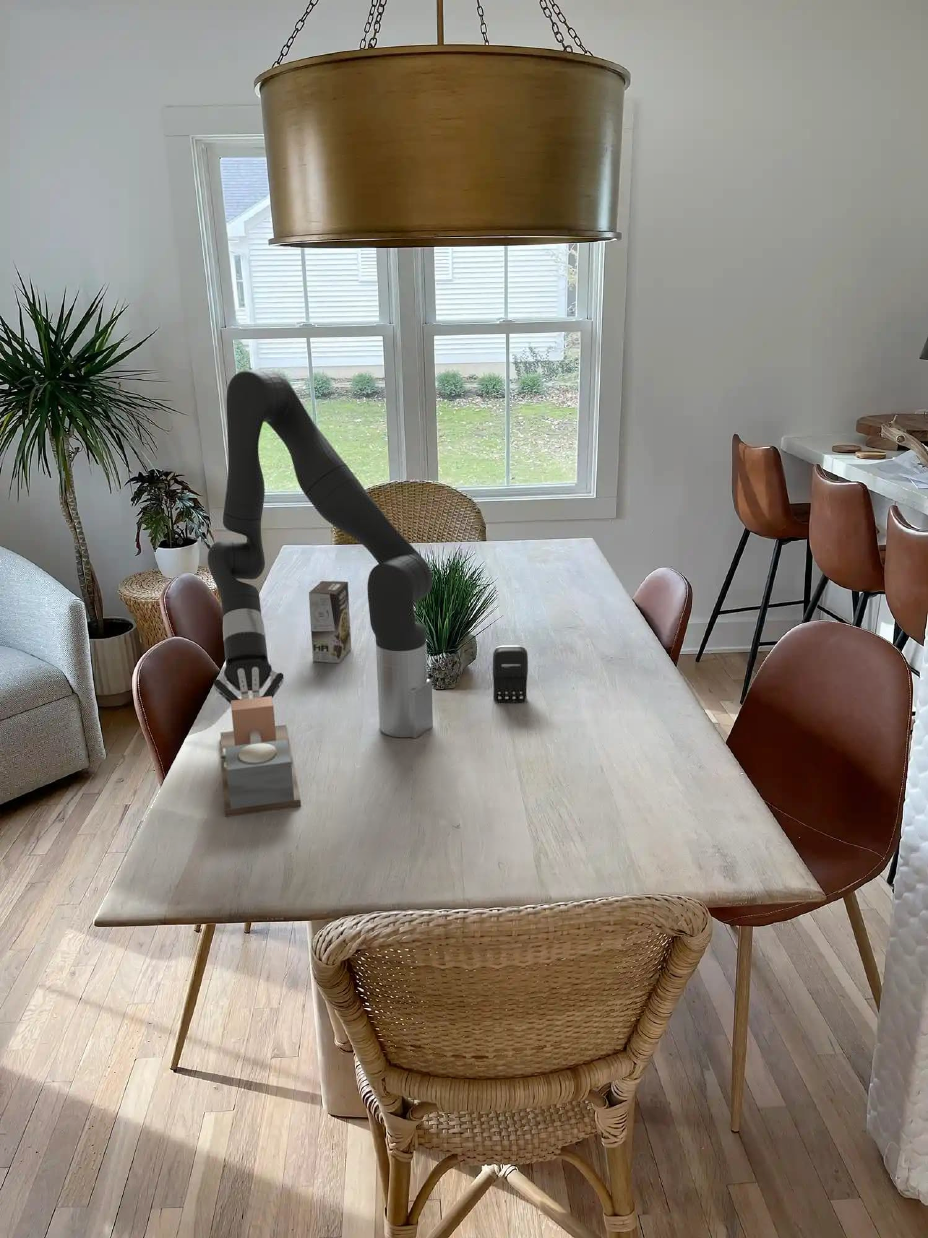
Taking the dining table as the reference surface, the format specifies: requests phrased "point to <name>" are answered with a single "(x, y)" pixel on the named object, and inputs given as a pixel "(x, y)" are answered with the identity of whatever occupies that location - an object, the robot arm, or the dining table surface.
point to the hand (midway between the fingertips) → (253, 727)
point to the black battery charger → (510, 674)
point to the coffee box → (330, 621)
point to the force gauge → (258, 775)
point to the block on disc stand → (253, 721)
